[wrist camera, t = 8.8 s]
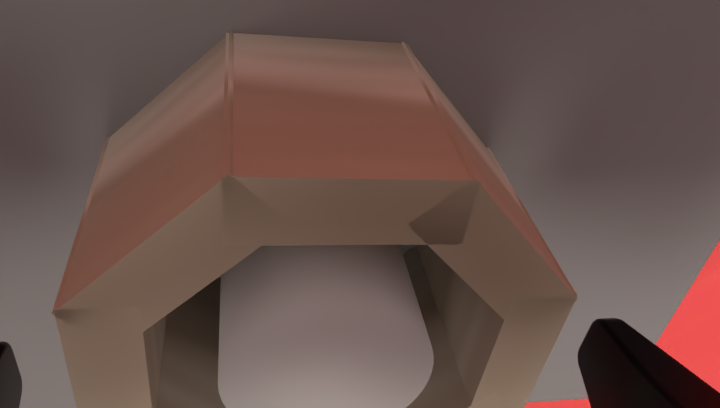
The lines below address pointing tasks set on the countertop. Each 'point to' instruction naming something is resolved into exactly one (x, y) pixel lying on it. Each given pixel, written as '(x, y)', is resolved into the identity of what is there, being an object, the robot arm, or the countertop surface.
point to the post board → (492, 61)
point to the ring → (301, 221)
